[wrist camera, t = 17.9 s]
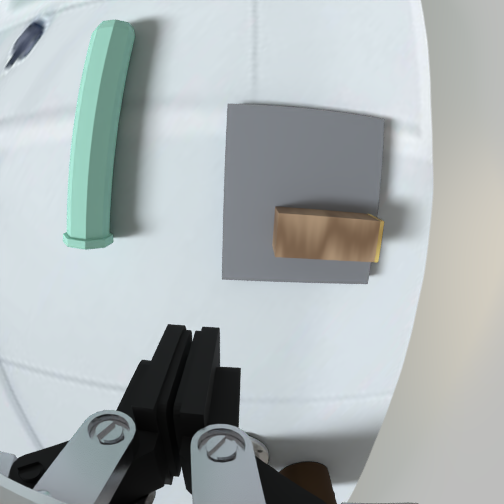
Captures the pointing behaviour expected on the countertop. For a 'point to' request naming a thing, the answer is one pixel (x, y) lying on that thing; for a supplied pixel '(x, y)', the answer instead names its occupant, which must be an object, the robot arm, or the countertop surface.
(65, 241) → the container
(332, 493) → the olive oil
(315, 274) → the board
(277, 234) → the block
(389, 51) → the countertop surface
